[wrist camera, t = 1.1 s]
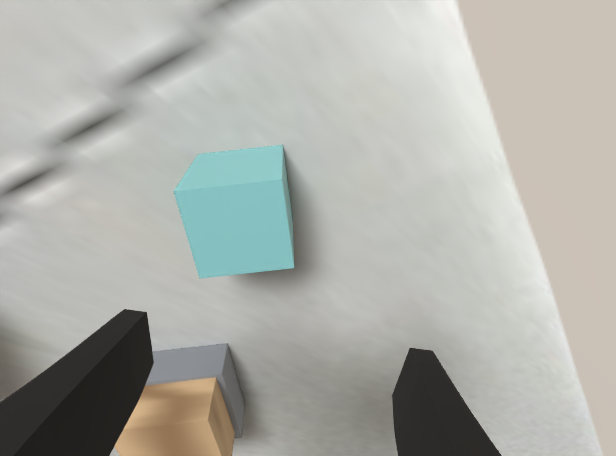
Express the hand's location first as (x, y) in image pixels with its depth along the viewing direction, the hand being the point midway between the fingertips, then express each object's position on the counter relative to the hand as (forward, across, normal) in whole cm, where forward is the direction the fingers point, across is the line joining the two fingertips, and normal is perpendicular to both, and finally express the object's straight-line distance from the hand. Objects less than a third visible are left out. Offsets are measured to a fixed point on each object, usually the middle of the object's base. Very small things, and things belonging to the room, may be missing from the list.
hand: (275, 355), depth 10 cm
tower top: (+8, +6, +16) cm, 19 cm away
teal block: (+12, +3, +1) cm, 12 cm away
